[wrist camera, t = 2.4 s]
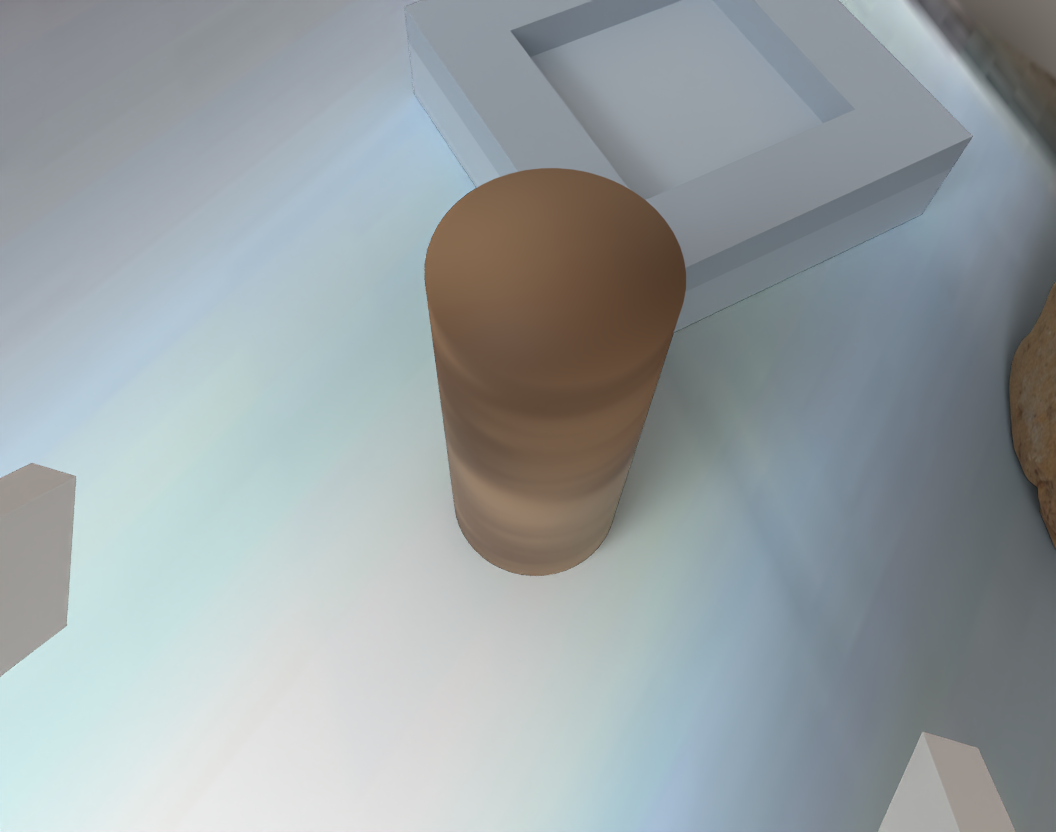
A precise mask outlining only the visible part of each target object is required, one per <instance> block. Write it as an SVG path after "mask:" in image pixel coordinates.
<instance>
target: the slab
mask: <svg viewBox="0 0 1056 832" xmlns="http://www.w3.org/2000/svg"><path fill="white" fill-rule="evenodd" d="M404 9H405V18H406V27H407V35H408V44H409V53H410V62H411V71H412V79H413V88H414V94H415V95H416V97H417V98H418V100H419V101H420V103H421V105H422V106H423V108H424V109H425V111H426V112H427V114H428V115H429V117H430V118H431V120H432V121H433V123H434V124H435V126H436V127H437V129H438V130H439V132H440V133H441V135H442V136H443V138H444V139H445V141H446V142H447V144H448V145H449V147H450V148H451V150H452V151H453V153H454V155H455V156H456V158H457V159H458V161H459V162H460V164H461V165H462V167H463V168H464V170H465V171H466V173H467V174H468V176H469V177H470V179H471V180H472V182H473V183H474V185H475V186H476V188H477V187H479V186H480V185H483V184H485V183H487V182H489V181H491V180H493V179H495V178H498V177H501V176H504V175H507V174H510V173H515V172H519V171H524V170H531V169H539V168H562V169H573V170H578V171H584V172H589V173H592V174H596V175H599V176H602V177H605V178H607V179H610V180H612V181H615V182H617V183H619V184H621V185H623V186H625V187H627V188H628V189H630V190H632V191H633V192H635V193H636V194H638V195H639V196H641V197H642V198H643V199H645V200H646V201H647V202H648V203H649V204H650V205H651V206H653V207H654V208H655V209H656V210H657V211H658V212H659V214H660V215H661V216H662V217H663V218H664V219H665V221H666V222H667V223H668V225H669V227H670V228H671V230H672V231H673V233H674V235H675V237H676V239H677V241H678V243H679V245H680V248H681V251H682V254H683V257H684V262H685V269H686V291H685V297H684V302H683V305H682V309H681V312H680V315H679V318H678V321H677V324H676V327H675V330H674V332H676V331H678V330H680V329H682V328H685V327H687V326H689V325H691V324H693V323H695V322H697V321H699V320H701V319H703V318H706V317H708V316H710V315H712V314H714V313H716V312H718V311H720V310H722V309H724V308H727V307H729V306H731V305H733V304H735V303H737V302H739V301H741V300H743V299H745V298H748V297H750V296H752V295H754V294H756V293H758V292H760V291H762V290H764V289H766V288H768V287H771V286H773V285H775V284H777V283H779V282H781V281H783V280H785V279H787V278H789V277H792V276H794V275H796V274H798V273H800V272H802V271H804V270H806V269H808V268H810V267H813V266H815V265H817V264H819V263H821V262H823V261H825V260H827V259H829V258H831V257H834V256H836V255H838V254H840V253H842V252H844V251H846V250H848V249H850V248H852V247H855V246H857V245H859V244H861V243H863V242H865V241H867V240H869V239H871V238H873V237H876V236H878V235H880V234H882V233H884V232H886V231H888V230H890V229H892V228H894V227H897V226H899V225H901V224H903V223H905V222H907V221H909V220H911V219H913V218H915V217H918V216H920V215H922V214H923V212H924V211H925V209H926V208H927V206H928V204H929V203H930V201H931V200H932V198H933V197H934V195H935V194H936V192H937V191H938V189H939V187H940V186H941V184H942V183H943V181H944V180H945V178H946V177H947V175H948V174H949V172H950V171H951V169H952V167H953V166H954V164H955V163H956V161H957V160H958V158H959V157H960V155H961V154H962V152H963V151H964V149H965V147H966V146H967V144H968V143H969V141H970V140H971V138H972V137H973V136H972V135H971V134H970V133H969V132H968V131H967V130H966V129H965V128H964V127H963V126H962V125H961V124H960V123H959V122H958V121H957V120H956V119H955V118H954V117H953V116H952V115H951V114H950V113H949V112H948V111H947V110H946V109H945V108H944V107H943V106H942V105H941V104H940V103H939V102H938V101H937V100H936V99H935V98H934V96H933V95H932V94H931V93H930V92H929V91H928V90H927V89H926V88H925V87H924V86H923V85H922V84H921V83H920V82H919V81H918V80H917V79H916V78H915V77H914V76H913V75H912V74H911V73H910V72H909V71H908V70H907V69H906V68H905V67H904V66H903V65H902V64H901V63H900V62H899V61H898V60H897V59H896V58H895V57H894V56H893V55H892V54H891V53H890V52H889V51H888V50H887V49H886V48H885V47H884V46H883V45H882V44H881V43H880V42H879V41H878V40H877V39H876V38H875V37H874V36H873V35H872V34H871V33H870V32H869V31H868V30H867V29H866V28H865V27H864V26H863V25H862V24H861V23H860V22H859V21H858V20H857V19H856V18H855V17H854V16H853V15H852V14H851V13H850V12H849V11H848V10H847V8H846V7H845V6H844V5H843V4H842V3H841V2H840V1H839V0H421V1H418V2H415V3H413V4H410V5H407V6H404Z"/></svg>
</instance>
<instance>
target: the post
mask: <svg viewBox="0 0 1056 832" xmlns="http://www.w3.org/2000/svg"><path fill="white" fill-rule="evenodd" d="M425 286H426V294H427V301H428V309H429V316H430V324H431V331H432V339H433V347H434V354H435V362H436V369H437V377H438V385H439V392H440V400H441V407H442V415H443V423H444V430H445V438H446V445H447V453H448V461H449V468H450V476H451V483H452V491H453V499H454V506H455V513H456V517H457V520H458V524H459V526H460V528H461V531H462V533H463V535H464V536H465V538H466V539H467V541H468V543H469V544H470V545H471V546H472V547H473V548H474V550H475V551H476V552H477V553H479V554H480V555H481V556H482V557H483V558H484V559H486V560H487V561H489V562H490V563H492V564H493V565H495V566H497V567H499V568H501V569H504V570H506V571H509V572H512V573H517V574H521V575H530V576H543V575H550V574H556V573H559V572H562V571H566V570H568V569H570V568H572V567H574V566H576V565H578V564H580V563H581V562H583V561H584V560H586V559H587V558H588V557H589V556H590V555H592V554H593V553H594V552H595V550H596V549H597V548H598V547H599V546H600V545H601V543H602V542H603V540H604V539H605V537H606V535H607V533H608V531H609V529H610V527H611V524H612V521H613V518H614V515H615V512H616V509H617V506H618V503H619V499H620V496H621V493H622V490H623V487H624V484H625V481H626V478H627V475H628V472H629V469H630V466H631V463H632V459H633V456H634V453H635V450H636V447H637V444H638V441H639V438H640V435H641V432H642V429H643V426H644V422H645V419H646V416H647V413H648V410H649V407H650V404H651V401H652V398H653V395H654V392H655V389H656V386H657V382H658V379H659V376H660V373H661V370H662V367H663V364H664V361H665V358H666V355H667V352H668V349H669V346H670V342H671V339H672V336H673V333H674V330H675V327H676V324H677V321H678V318H679V315H680V312H681V309H682V305H683V302H684V297H685V291H686V269H685V262H684V257H683V254H682V251H681V248H680V245H679V243H678V241H677V239H676V237H675V235H674V233H673V231H672V230H671V228H670V227H669V225H668V223H667V222H666V221H665V219H664V218H663V217H662V216H661V215H660V214H659V212H658V211H657V210H656V209H655V208H654V207H653V206H651V205H650V204H649V203H648V202H647V201H646V200H645V199H643V198H642V197H641V196H639V195H638V194H636V193H635V192H633V191H632V190H630V189H628V188H627V187H625V186H623V185H621V184H619V183H617V182H615V181H612V180H610V179H607V178H605V177H602V176H599V175H596V174H592V173H589V172H584V171H578V170H573V169H562V168H539V169H531V170H524V171H519V172H515V173H510V174H507V175H504V176H501V177H498V178H495V179H493V180H491V181H489V182H487V183H485V184H483V185H480V186H479V187H477V188H476V189H474V190H473V191H471V192H469V193H468V194H467V195H465V196H464V197H463V198H462V199H460V200H459V201H458V202H457V203H456V204H455V205H454V206H453V207H452V208H451V209H450V210H449V211H448V212H447V213H446V215H445V216H444V217H443V219H442V220H441V222H440V223H439V224H438V226H437V228H436V230H435V232H434V234H433V236H432V238H431V241H430V244H429V247H428V250H427V254H426V260H425Z"/></svg>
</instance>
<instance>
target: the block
mask: <svg viewBox="0 0 1056 832" xmlns="http://www.w3.org/2000/svg"><path fill="white" fill-rule="evenodd" d="M1009 385H1010V411H1011V426H1012V436H1013V443H1014V449H1015V452H1016V454H1017V456H1018V459H1019V461H1020V464H1021V466H1022V469H1023V471H1024V474H1025V475H1026V477H1027V479H1028V480H1029V481H1030V482H1031V483H1032V484H1034V485H1035V486H1036V487H1037V488H1038V497H1039V502H1040V506H1041V507H1040V513H1041V515H1042V518H1043V520H1044V522H1045V525H1046V527H1047V529H1048V532H1049V534H1050V537H1051V539H1052V542H1053V544H1054V547H1055V548H1056V281H1055V283H1054V285H1053V286H1052V288H1051V290H1050V293H1049V295H1048V298H1047V300H1046V303H1045V305H1044V308H1043V310H1042V312H1041V314H1040V316H1039V318H1038V320H1037V322H1036V323H1035V325H1034V327H1033V329H1032V331H1031V332H1030V333H1029V334H1028V335H1027V336H1026V337H1025V338H1024V339H1023V340H1022V342H1021V343H1020V345H1019V347H1018V348H1017V350H1016V352H1015V355H1014V358H1013V362H1012V366H1011V375H1010V383H1009Z"/></svg>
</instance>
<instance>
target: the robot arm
mask: <svg viewBox="0 0 1056 832" xmlns="http://www.w3.org/2000/svg"><path fill="white" fill-rule="evenodd" d="M75 486H76V476H73V475H70V474H67V473H63V472H60V471H57V470H53V469H50V468H47V467H44V466H40V465H37V464H34V463H31V464H29V465H27V466H24V467H22V468H20V469H18V470H16V471H14V472H12V473H10V474H8V475H6V476H4V477H2V478H0V676H2V675H3V674H4V673H5V672H7V671H8V670H9V669H11V668H12V667H13V666H15V665H16V664H17V663H19V662H20V661H21V660H23V659H24V658H25V657H26V656H28V655H29V654H30V653H32V652H33V651H34V650H36V649H37V648H38V647H40V646H41V645H42V644H43V643H45V642H46V641H47V640H49V639H50V638H51V637H53V636H54V635H55V634H57V633H58V632H59V631H61V630H62V629H63V628H64V627H66V626H67V610H68V595H69V579H70V564H71V548H72V533H73V517H74V502H75ZM878 832H1015V829H1014V827H1013V825H1012V823H1011V820H1010V818H1009V816H1008V814H1007V812H1006V809H1005V807H1004V805H1003V803H1002V801H1001V798H1000V796H999V794H998V792H997V789H996V787H995V785H994V783H993V781H992V778H991V776H990V774H989V772H988V770H987V767H986V765H985V763H984V761H983V758H982V756H981V754H980V752H979V750H978V748H976V747H972V746H969V745H966V744H963V743H959V742H956V741H953V740H949V739H946V738H943V737H939V736H936V735H933V734H929V733H926V732H922V734H921V736H920V739H919V741H918V743H917V745H916V748H915V750H914V752H913V754H912V757H911V759H910V761H909V763H908V765H907V768H906V770H905V772H904V774H903V777H902V779H901V781H900V783H899V786H898V788H897V790H896V792H895V794H894V797H893V799H892V801H891V803H890V806H889V808H888V810H887V812H886V815H885V817H884V819H883V821H882V823H881V826H880V828H879V830H878Z"/></svg>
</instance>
